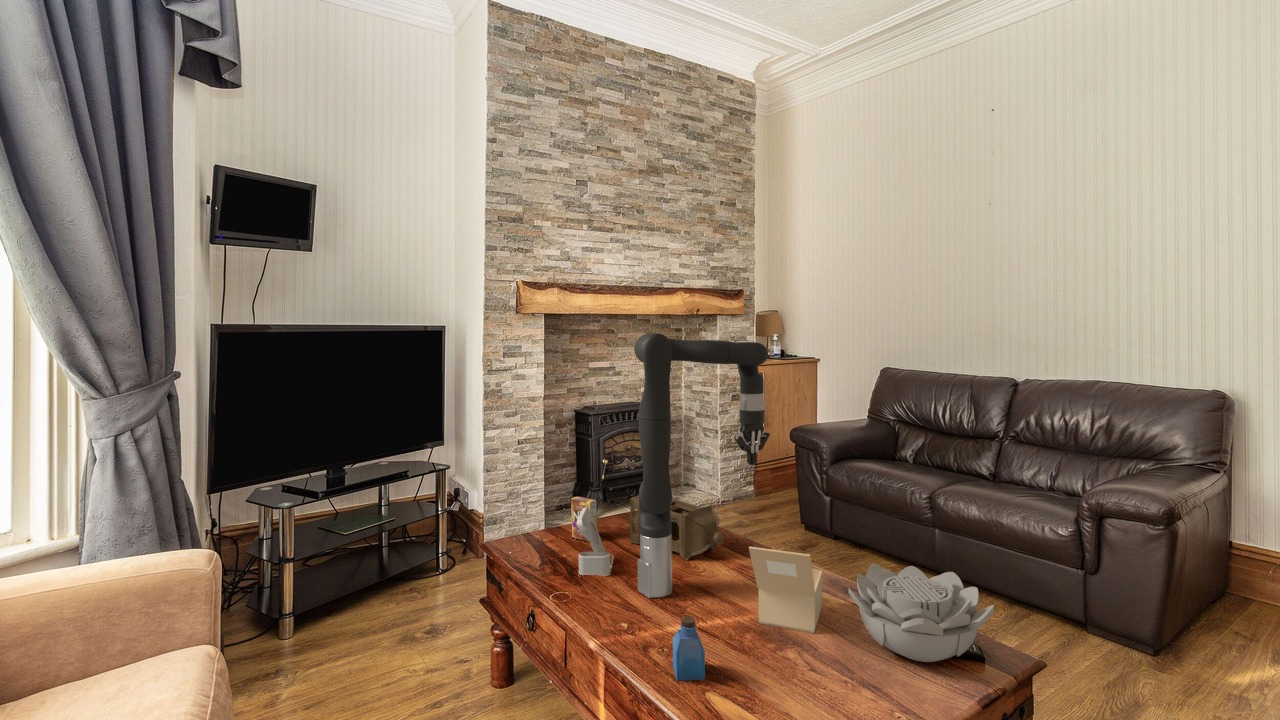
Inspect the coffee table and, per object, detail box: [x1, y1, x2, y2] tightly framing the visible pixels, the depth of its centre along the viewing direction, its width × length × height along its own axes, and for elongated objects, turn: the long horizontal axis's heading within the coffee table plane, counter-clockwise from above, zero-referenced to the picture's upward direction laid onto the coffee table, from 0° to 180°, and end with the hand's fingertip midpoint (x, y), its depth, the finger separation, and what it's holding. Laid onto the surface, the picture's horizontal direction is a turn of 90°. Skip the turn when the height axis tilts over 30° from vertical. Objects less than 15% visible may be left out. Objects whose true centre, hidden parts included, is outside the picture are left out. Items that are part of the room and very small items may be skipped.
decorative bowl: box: [848, 563, 995, 663], centre depth 143 cm, size 30×30×15 cm
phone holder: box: [577, 507, 615, 576], centre depth 196 cm, size 17×10×18 cm, turn 177°
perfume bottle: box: [672, 615, 706, 681], centre depth 135 cm, size 6×6×12 cm
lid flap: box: [748, 546, 815, 597], centre depth 149 cm, size 16×14×1 cm
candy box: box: [570, 495, 598, 541], centre depth 221 cm, size 9×4×15 cm, turn 57°
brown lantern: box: [629, 494, 725, 562], centre depth 211 cm, size 35×18×18 cm, turn 46°
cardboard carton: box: [758, 568, 823, 634], centre depth 162 cm, size 16×14×10 cm
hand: (752, 464), depth 185 cm, fingers closed
